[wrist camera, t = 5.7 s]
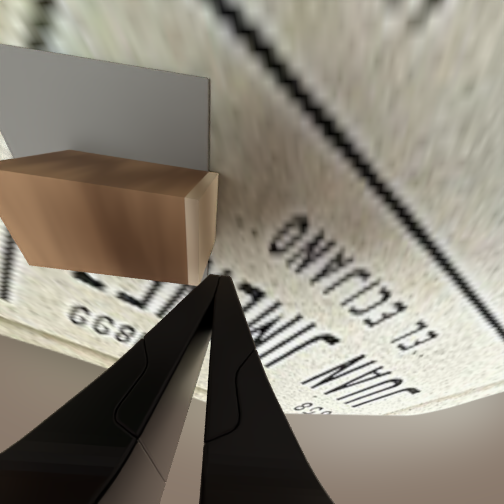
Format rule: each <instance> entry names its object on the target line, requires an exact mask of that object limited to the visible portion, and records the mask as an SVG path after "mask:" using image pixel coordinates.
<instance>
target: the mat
mask: <svg viewBox="0 0 504 504" xmlns="http://www.w3.org/2000/svg"><path fill="white" fill-rule="evenodd" d="M0 131H1V133H2V135H3V137H4V140H5V142H6V144H7V146H8V148H9V150H10V152H11V154H12V156H13V158H20V157H26V156H33V155H39V154H45V153H51V152H58V151H64V150H75V151H81V152H88V153H94V154H100V155H107V156H113V157H119V158H126V159H132V160H138V161H145V162H151V163H157V164H164V165H170V166H176V167H183V168H189V169H195V170H202V171H208V172H209V79H208V78H204V77H198V76H192V75H186V74H180V73H174V72H168V71H162V70H156V69H150V68H144V67H137V66H131V65H125V64H119V63H113V62H107V61H101V60H95V59H89V58H83V57H77V56H71V55H65V54H59V53H53V52H46V51H40V50H34V49H28V48H22V47H16V46H10V45H4V44H0ZM207 276H208V263H207V265H206V268H205V271H204V274H203V277H202V280H201V282H202V281H203V280H204V279H205V278H206V277H207Z"/></svg>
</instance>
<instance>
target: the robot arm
mask: <svg viewBox="0 0 504 504" xmlns="http://www.w3.org/2000/svg"><path fill="white" fill-rule="evenodd" d="M210 338H211V347H210V361H209V376H208V390H207V405H206V419H205V434H204V447H203V461H202V474H201V487H200V499H199V504H335V503H334V502H333V500H332V499H331V498H330V496H329V495H328V494H327V492H326V491H325V489H324V488H323V486H322V485H321V483H320V482H319V480H318V478H317V477H316V475H315V473H314V472H313V470H312V468H311V466H310V464H309V463H308V461H307V459H306V457H305V455H304V453H303V451H302V449H301V447H300V445H299V443H298V441H297V439H296V437H295V435H294V433H293V431H292V429H291V427H290V425H289V423H288V421H287V419H286V416H285V414H284V412H283V410H282V408H281V406H280V404H279V402H278V400H277V398H276V396H275V394H274V392H273V389H272V387H271V385H270V383H269V381H268V378H267V376H266V373H265V371H264V368H263V366H262V363H261V360H260V357H259V355H258V352H257V350H256V346H255V344H254V341H253V338H252V335H251V332H250V329H249V327H248V324H247V321H246V318H245V315H244V312H243V309H242V307H241V304H240V301H239V298H238V295H237V292H236V290H235V287H234V284H233V281H232V278H231V277H230V276H223V275H222V276H220V275H215V274H210V275H208V276H207V277H206V278H205V279H204V280H203V281H202V282H201V283H200V284H199V285H198V286H197V287H196V288H195V289H194V290H192V291H191V292H190V293H189V294H188V295H187V296H186V297H185V298H184V299H183V300H182V301H181V302H180V303H179V304H178V305H177V306H176V307H175V308H173V309H172V310H171V311H170V312H169V313H168V314H167V315H166V316H165V317H164V318H163V319H162V320H161V321H160V322H159V323H158V324H157V325H156V326H154V327H153V328H152V329H151V330H150V331H149V332H148V333H147V334H146V335H145V336H144V339H141V340H139V341H138V342H137V343H136V344H135V345H134V346H133V347H132V348H131V349H130V350H129V351H128V352H127V353H126V354H124V355H123V356H122V357H121V358H120V359H119V360H118V361H117V362H116V363H114V364H113V365H112V366H111V367H110V368H108V369H107V370H106V371H105V372H104V373H102V374H101V375H100V376H99V377H98V378H96V379H95V380H94V381H93V382H92V383H90V384H89V385H88V386H87V387H85V388H84V389H83V390H82V391H80V392H79V393H78V394H77V395H75V396H74V397H73V398H72V399H70V400H69V401H68V402H67V403H65V405H63V406H62V407H60V408H59V409H58V410H57V411H56V412H54V413H53V414H52V415H50V416H49V417H48V418H47V419H45V420H44V421H43V422H42V423H41V424H39V425H38V426H37V427H36V428H34V429H33V430H32V431H30V432H29V433H28V434H27V435H25V436H24V437H23V438H22V439H20V440H19V441H17V442H16V443H14V444H13V445H12V446H10V447H9V448H7V449H6V450H4V451H3V452H1V453H0V504H160V500H161V497H162V494H163V491H164V487H165V482H166V481H167V477H168V474H169V471H170V468H171V465H172V461H173V458H174V455H175V451H176V448H177V445H178V442H179V438H180V435H181V432H182V429H183V425H184V422H185V418H186V416H187V412H188V409H189V406H190V403H191V399H192V396H193V393H194V390H195V386H196V383H197V380H198V377H199V373H200V370H201V367H202V364H203V360H204V357H205V354H206V351H207V347H208V344H209V341H210Z"/></svg>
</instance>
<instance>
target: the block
mask: <svg viewBox="0 0 504 504" xmlns="http://www.w3.org/2000/svg"><path fill="white" fill-rule="evenodd" d="M218 174H219V173H214V172H208V171H202V170H195V169H189V168H183V167H176V166H170V165H164V164H157V163H151V162H145V161H138V160H132V159H126V158H119V157H113V156H107V155H100V154H94V153H88V152H81V151H75V150H64V151H58V152H51V153H45V154H39V155H33V156H26V157H20V158H14V159H8V160H1V161H0V217H1V219H2V221H3V222H4V224H5V225H6V227H7V229H8V230H9V232H10V234H11V235H12V237H13V239H14V240H15V242H16V244H17V245H18V247H19V249H20V250H21V252H22V254H23V255H24V257H25V259H26V260H27V262H28V264H29V265H32V266H40V267H48V268H56V269H65V270H73V271H81V272H89V273H97V274H105V275H113V276H121V277H130V278H138V279H146V280H154V281H162V282H170V283H178V284H186V285H194V286H198V285H199V284H200V282H201V280H202V277H203V274H204V271H205V268H206V265H207V263H208V260H209V257H210V254H211V251H212V248H213V246H214V243H215V234H216V214H217V194H218Z"/></svg>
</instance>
